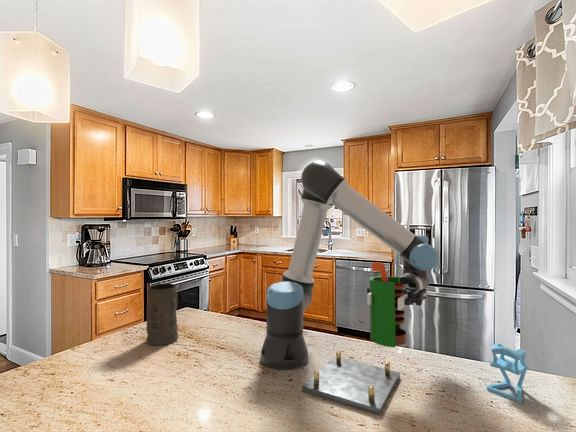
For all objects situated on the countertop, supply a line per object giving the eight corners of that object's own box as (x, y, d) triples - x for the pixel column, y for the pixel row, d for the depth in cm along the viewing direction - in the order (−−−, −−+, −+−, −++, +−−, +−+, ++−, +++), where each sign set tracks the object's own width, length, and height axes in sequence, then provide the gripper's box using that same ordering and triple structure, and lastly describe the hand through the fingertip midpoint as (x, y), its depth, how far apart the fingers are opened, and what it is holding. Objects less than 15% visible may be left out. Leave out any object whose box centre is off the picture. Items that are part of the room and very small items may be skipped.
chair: (532, 392, 84) (532, 346, 84) (520, 403, 79) (520, 353, 79) (498, 380, 90) (498, 337, 91) (486, 389, 85) (486, 343, 86)
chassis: (301, 391, 84) (302, 374, 84) (333, 361, 102) (333, 347, 102) (380, 415, 73) (380, 395, 74) (399, 377, 92) (399, 361, 92)
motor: (409, 348, 78) (406, 265, 79) (371, 346, 80) (368, 265, 81) (403, 334, 88) (401, 260, 89) (369, 332, 90) (367, 260, 91)
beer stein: (171, 346, 112) (172, 288, 113) (140, 346, 113) (141, 288, 113) (185, 331, 128) (186, 280, 128) (158, 331, 128) (159, 280, 128)
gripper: (442, 304, 94) (426, 325, 75) (375, 294, 105) (345, 310, 86) (442, 278, 94) (426, 292, 75) (375, 271, 105) (346, 281, 86)
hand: (383, 301), depth 80 cm, fingers closed on motor, 7 cm apart
